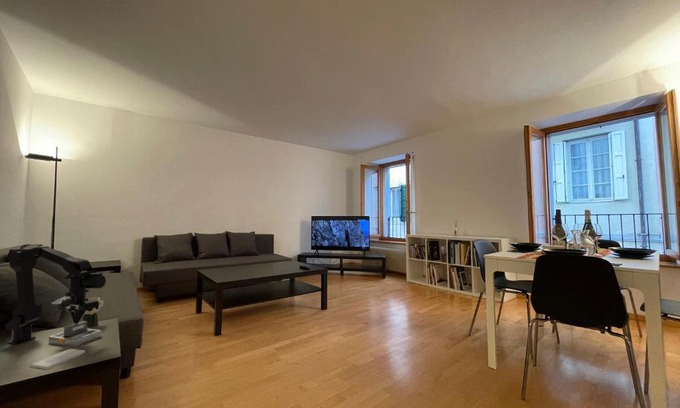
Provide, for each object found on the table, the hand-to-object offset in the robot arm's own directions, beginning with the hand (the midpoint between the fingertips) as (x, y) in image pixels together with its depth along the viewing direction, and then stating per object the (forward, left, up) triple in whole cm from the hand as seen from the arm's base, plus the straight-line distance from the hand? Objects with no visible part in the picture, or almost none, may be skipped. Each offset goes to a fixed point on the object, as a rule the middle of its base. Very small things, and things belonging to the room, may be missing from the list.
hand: (76, 323), depth 125 cm
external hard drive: (+14, -15, -8) cm, 22 cm away
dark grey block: (0, 0, -6) cm, 6 cm away
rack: (0, 0, -7) cm, 7 cm away
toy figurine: (-12, +14, -7) cm, 20 cm away
